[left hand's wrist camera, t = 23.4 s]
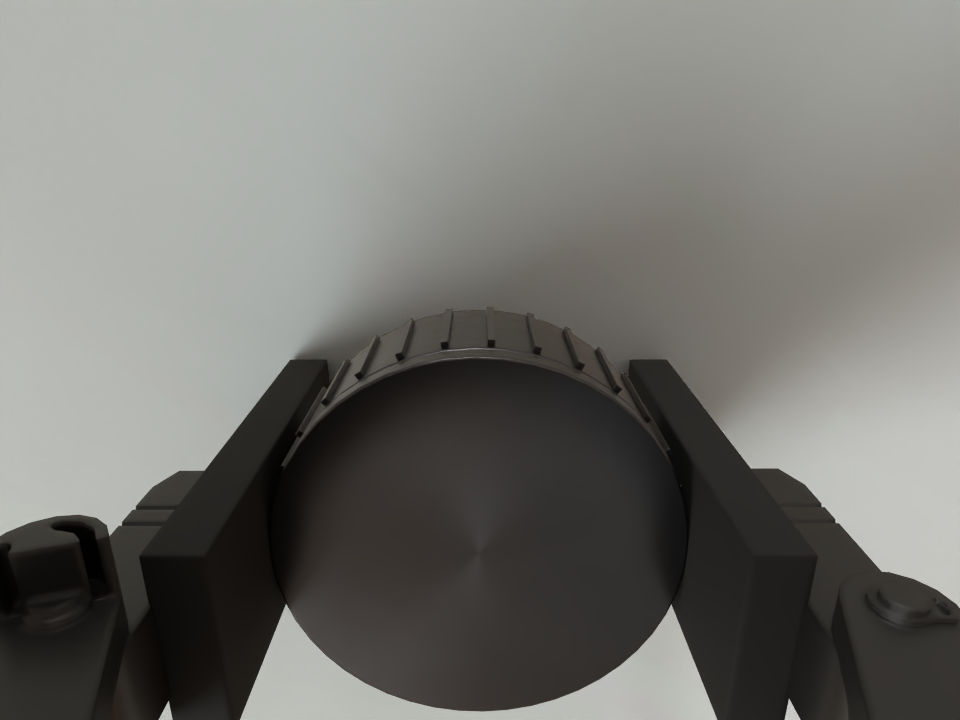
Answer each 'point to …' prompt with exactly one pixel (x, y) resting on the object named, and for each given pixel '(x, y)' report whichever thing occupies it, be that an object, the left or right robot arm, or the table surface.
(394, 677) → the lid
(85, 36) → the table surface
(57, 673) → the left robot arm
